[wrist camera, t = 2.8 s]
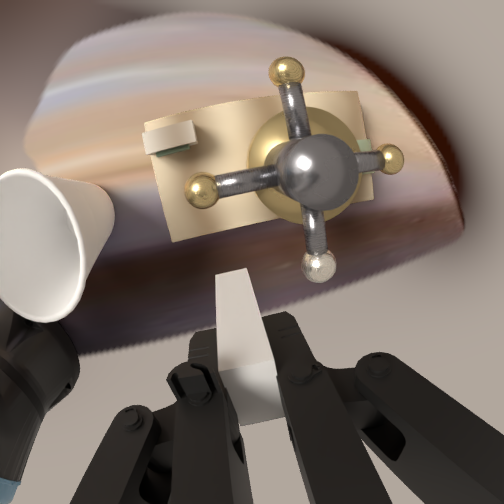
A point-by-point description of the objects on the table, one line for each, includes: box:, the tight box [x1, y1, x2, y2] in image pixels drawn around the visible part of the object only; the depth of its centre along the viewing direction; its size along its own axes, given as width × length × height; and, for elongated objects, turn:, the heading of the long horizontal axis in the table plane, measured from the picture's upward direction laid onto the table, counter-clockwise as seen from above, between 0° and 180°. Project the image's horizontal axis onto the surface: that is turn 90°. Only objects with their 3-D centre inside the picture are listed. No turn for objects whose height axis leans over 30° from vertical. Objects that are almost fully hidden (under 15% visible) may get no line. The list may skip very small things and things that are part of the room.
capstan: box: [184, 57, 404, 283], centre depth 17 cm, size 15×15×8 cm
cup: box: [0, 168, 115, 323], centre depth 17 cm, size 10×10×11 cm
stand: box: [142, 91, 375, 243], centre depth 21 cm, size 18×10×5 cm, turn 101°
